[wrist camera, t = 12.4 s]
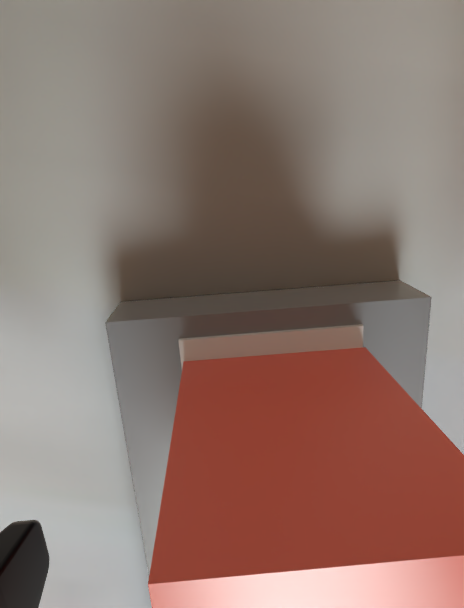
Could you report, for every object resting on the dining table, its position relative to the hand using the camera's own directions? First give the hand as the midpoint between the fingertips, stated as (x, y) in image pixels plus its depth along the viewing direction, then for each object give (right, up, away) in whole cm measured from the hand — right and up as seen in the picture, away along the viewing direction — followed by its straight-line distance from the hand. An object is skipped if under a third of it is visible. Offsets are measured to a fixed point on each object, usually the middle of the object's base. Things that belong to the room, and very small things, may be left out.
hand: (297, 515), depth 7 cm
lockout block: (0, +1, +2) cm, 2 cm away
